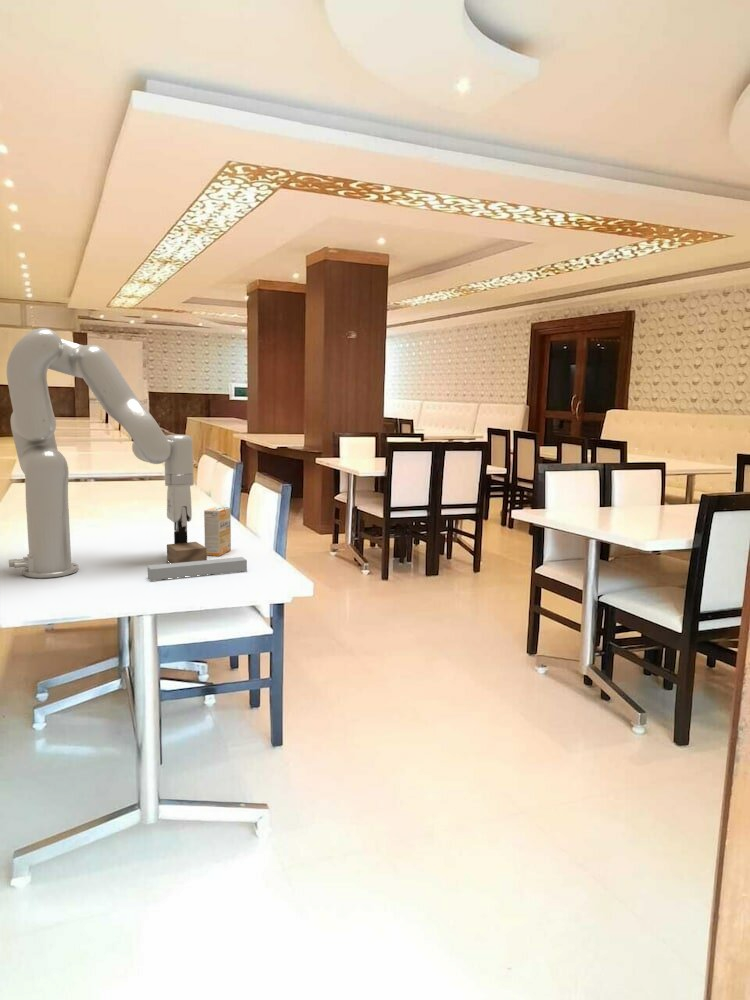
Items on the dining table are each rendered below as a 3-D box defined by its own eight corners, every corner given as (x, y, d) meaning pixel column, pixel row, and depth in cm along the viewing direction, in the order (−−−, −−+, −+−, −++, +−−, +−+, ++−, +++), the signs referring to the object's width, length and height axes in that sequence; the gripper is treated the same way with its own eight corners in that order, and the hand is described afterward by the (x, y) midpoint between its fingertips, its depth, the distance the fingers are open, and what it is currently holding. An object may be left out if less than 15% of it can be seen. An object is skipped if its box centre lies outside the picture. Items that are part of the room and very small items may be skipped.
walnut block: (177, 569, 179) (176, 550, 178) (167, 562, 187) (166, 544, 186) (206, 566, 183) (206, 547, 183) (196, 559, 191) (195, 541, 190)
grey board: (150, 581, 166) (150, 569, 166) (147, 577, 170) (147, 565, 169) (246, 571, 177) (246, 560, 177) (242, 568, 181) (242, 556, 180)
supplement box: (220, 556, 193) (219, 510, 192) (204, 555, 194) (203, 510, 193) (231, 550, 201) (231, 506, 200) (216, 549, 202) (215, 505, 201)
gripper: (159, 477, 193) (161, 541, 195) (171, 483, 180) (173, 552, 182) (186, 476, 196) (188, 539, 199) (199, 482, 183) (201, 549, 186)
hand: (180, 545), depth 190 cm, fingers closed
